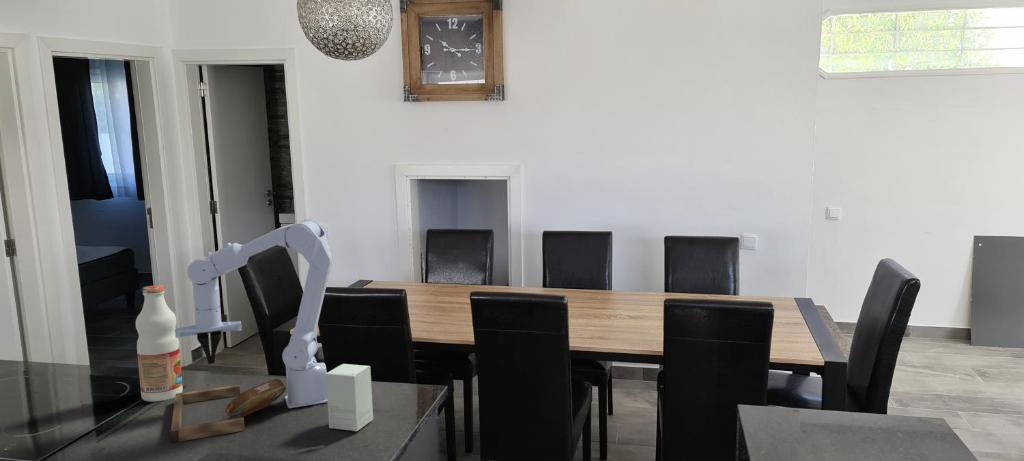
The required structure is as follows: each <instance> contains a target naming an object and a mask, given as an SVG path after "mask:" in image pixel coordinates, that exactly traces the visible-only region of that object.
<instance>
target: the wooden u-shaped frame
mask: <svg viewBox="0 0 1024 461" xmlns="http://www.w3.org/2000/svg"><path fill="white" fill-rule="evenodd" d="M239 394H241V388H240V384H235V385H228V386H221V387H213V388H205V389H200V390H193V391H192V390H191V391H187V392H184V391H183V392H182V393H177V394H176V396H175V397H174V404H173V411H172V420H171V428H170V438H171V439H170V441H171V442H170V443H171V444H172V443H173V444H174V443H177V442H178V443H180V442H185V441H189V440H190V441H192V440H195V439H202V438H209V437H213V436H214V437H215V436H221V435H225V434H226V435H227V434H233V433H238V432H243V431H245V430H246V429H245V419H244V417H245V416H243V417H241V418H236V419H230V418H229V419H223V420H218V421H212V422H206V423H198V424H193V425H188V426H187V425H186V426H182V421H183V420H182V418H183V409H184V405H185V404H191V403H197V402H198V403H199V402H204V401H210V400H211V401H212V400H218V399H223V398H230V397H237V396H238V395H239Z"/></svg>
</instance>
